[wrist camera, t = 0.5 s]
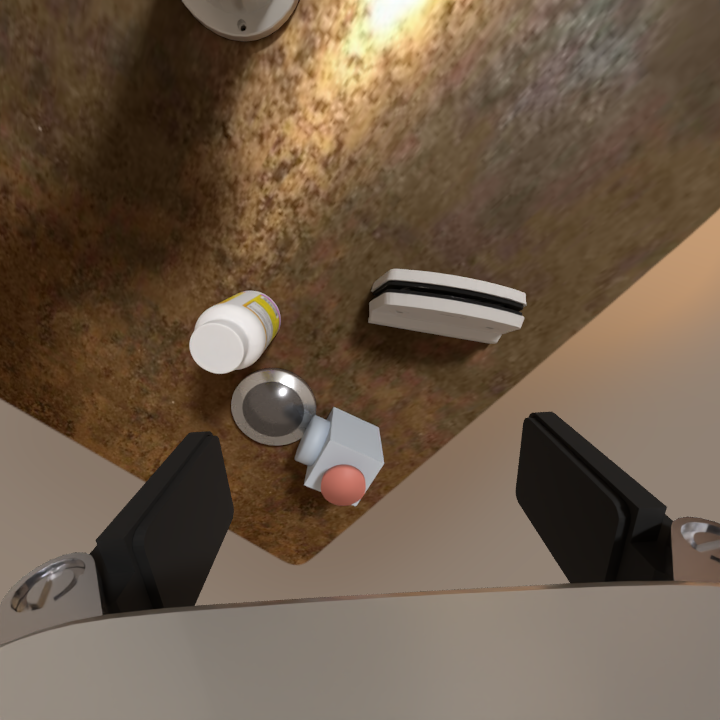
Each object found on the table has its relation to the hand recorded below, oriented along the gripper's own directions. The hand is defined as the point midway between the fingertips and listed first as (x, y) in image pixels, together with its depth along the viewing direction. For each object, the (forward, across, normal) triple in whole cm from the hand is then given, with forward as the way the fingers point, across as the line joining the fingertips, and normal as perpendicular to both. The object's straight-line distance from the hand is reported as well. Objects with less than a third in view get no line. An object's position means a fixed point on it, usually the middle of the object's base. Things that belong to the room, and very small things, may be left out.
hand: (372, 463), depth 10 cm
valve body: (+33, +4, +18) cm, 38 cm away
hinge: (+33, -10, +1) cm, 34 cm away
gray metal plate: (+33, +12, +14) cm, 37 cm away
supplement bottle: (+33, +13, +1) cm, 35 cm away
